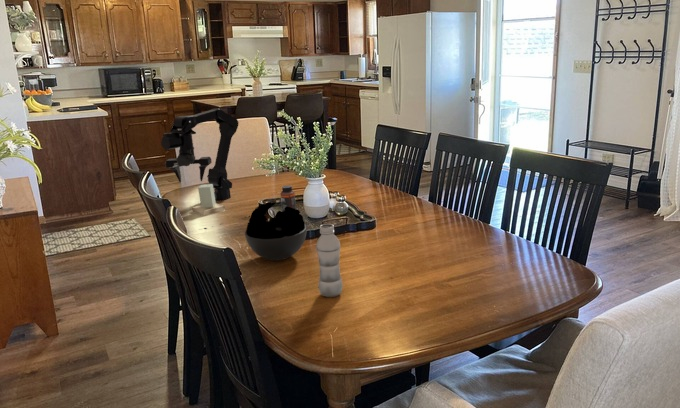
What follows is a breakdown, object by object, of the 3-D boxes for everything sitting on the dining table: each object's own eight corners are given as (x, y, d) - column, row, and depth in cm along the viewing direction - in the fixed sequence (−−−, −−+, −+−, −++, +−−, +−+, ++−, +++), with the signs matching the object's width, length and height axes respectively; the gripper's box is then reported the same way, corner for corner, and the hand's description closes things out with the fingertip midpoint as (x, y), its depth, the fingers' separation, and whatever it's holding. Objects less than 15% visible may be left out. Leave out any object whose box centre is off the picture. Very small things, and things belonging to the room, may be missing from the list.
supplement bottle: (297, 210, 241) (295, 184, 238) (295, 214, 235) (292, 188, 232) (283, 210, 241) (281, 184, 238) (280, 214, 236) (278, 188, 233)
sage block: (204, 204, 246) (201, 184, 243) (215, 204, 246) (212, 183, 243) (201, 208, 241) (198, 187, 239) (213, 207, 241) (209, 186, 238)
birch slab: (212, 206, 250) (212, 202, 250) (225, 210, 243) (224, 205, 243) (192, 211, 244) (191, 207, 243) (204, 215, 237) (203, 211, 236)
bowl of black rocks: (241, 254, 193) (235, 201, 188) (297, 243, 200) (293, 192, 195) (257, 274, 175) (251, 216, 170) (317, 261, 182) (313, 205, 177)
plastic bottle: (318, 291, 161) (313, 223, 155) (342, 288, 161) (338, 221, 156) (319, 300, 154) (314, 230, 149) (344, 298, 155) (340, 228, 149)
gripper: (158, 150, 235) (163, 187, 240) (202, 148, 235) (207, 184, 239) (167, 145, 246) (172, 180, 250) (209, 143, 245) (214, 178, 250)
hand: (191, 181), depth 247 cm, fingers open, 9 cm apart
